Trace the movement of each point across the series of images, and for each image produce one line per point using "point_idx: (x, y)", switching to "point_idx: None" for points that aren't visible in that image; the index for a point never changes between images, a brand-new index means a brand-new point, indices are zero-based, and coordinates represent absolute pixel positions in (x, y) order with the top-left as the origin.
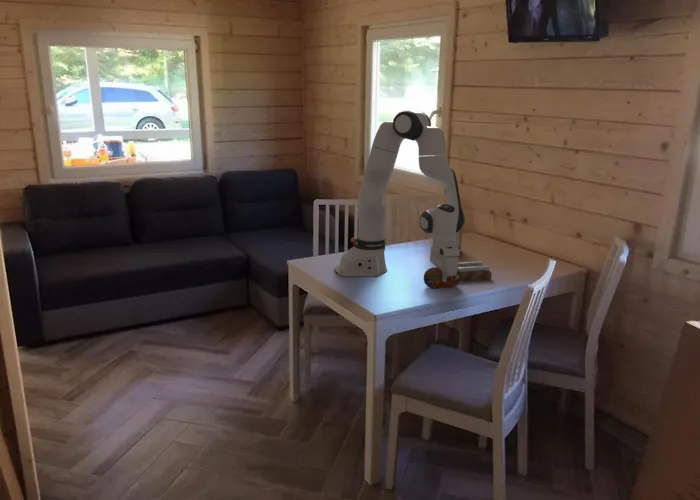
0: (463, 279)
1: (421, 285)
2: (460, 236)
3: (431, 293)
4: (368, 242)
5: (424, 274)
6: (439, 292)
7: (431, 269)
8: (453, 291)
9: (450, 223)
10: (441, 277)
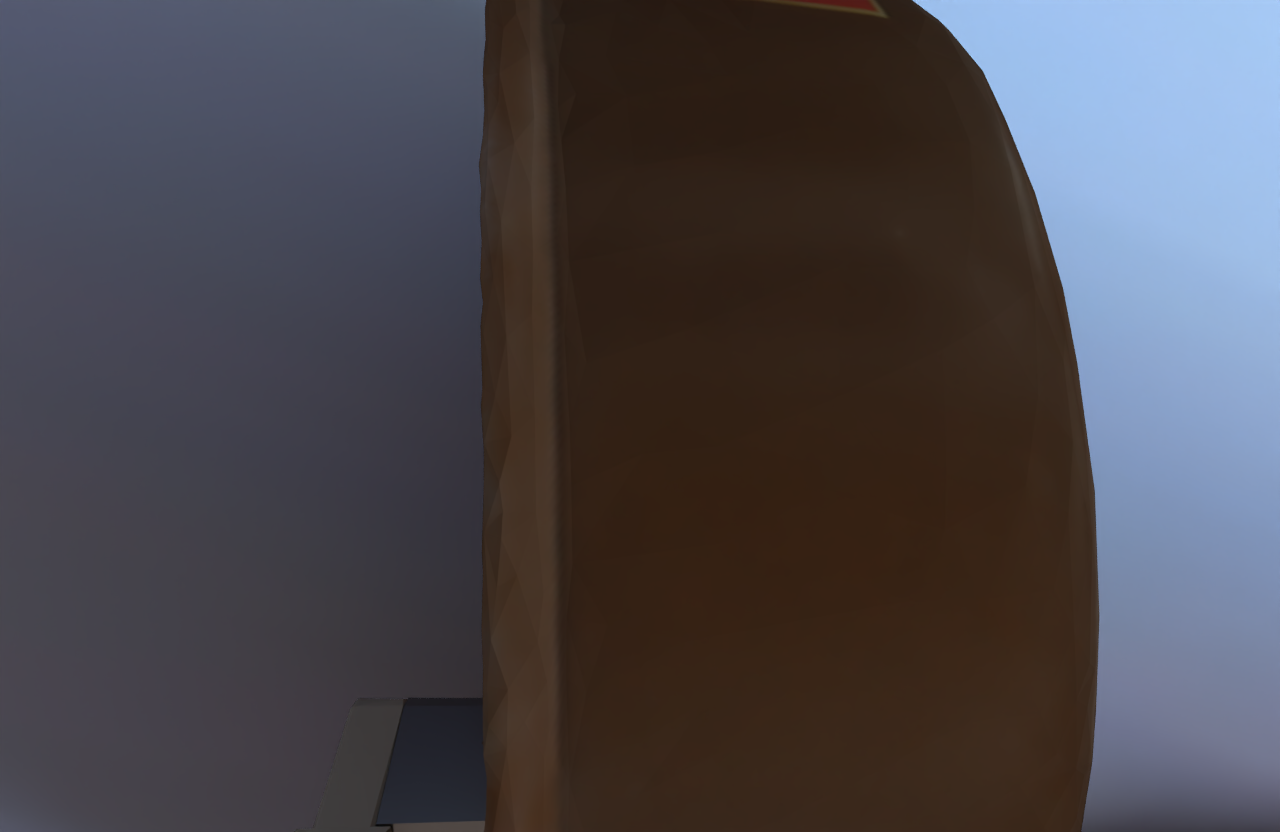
0: None
1: (976, 10)
2: None
3: (56, 45)
4: None
5: (856, 3)
6: (164, 361)
7: (506, 699)
8: (237, 735)
9: None
10: (463, 800)
